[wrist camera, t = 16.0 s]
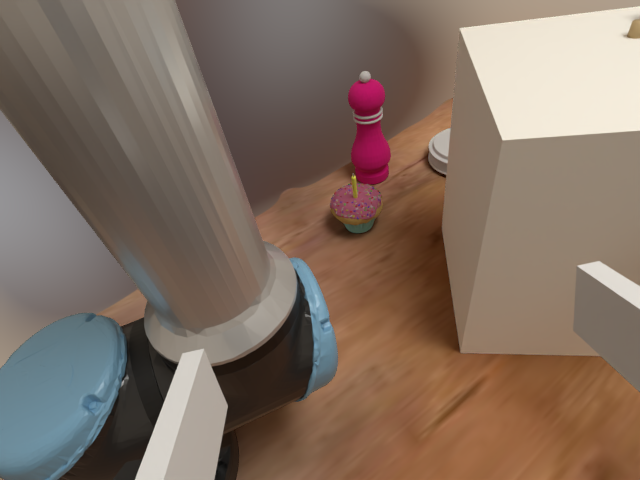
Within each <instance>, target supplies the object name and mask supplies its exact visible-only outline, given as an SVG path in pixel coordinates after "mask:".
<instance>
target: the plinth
mask: <svg viewBox="0 0 640 480" xmlns="http://www.w3.org/2000/svg"><path fill="white" fill-rule="evenodd" d="M442 233H443V240H444V247H445V253H446V260H447V267H448V274H449V280H450V287H451V294H452V300H453V307H454V314H455V320H456V327H457V334H458V341H459V347H460V353H479V354H525V355H571V356H600V355H599V354H598V353H597V352H596V351H595V350H594V349H593V348H591V347H590V346H589V345H588V344H587V343H586V342H585V341H584V340H583V339H582V338H581V337H580V336H578V335H577V334H576V333H575V332H574V331H573V323H574V305H575V287H576V270H577V266H578V265H583V264H587V263H592V262H596V261H600V262H602V263H603V264H605V265H606V266H608V267H610V268H611V269H613V270H614V271H616V272H618V273H619V274H621V275H622V276H624V277H626V278H627V279H629V280H630V281H632V282H634V283H635V284H637V285H638V286H640V6H639V7H631V8H623V9H614V10H606V11H598V12H590V13H581V14H573V15H565V16H557V17H549V18H540V19H532V20H524V21H515V22H507V23H499V24H491V25H483V26H475V27H466V28H460V29H459V41H458V52H457V63H456V74H455V85H454V97H453V107H452V118H451V130H450V141H449V152H448V163H447V174H446V185H445V196H444V207H443V219H442Z"/></svg>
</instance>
